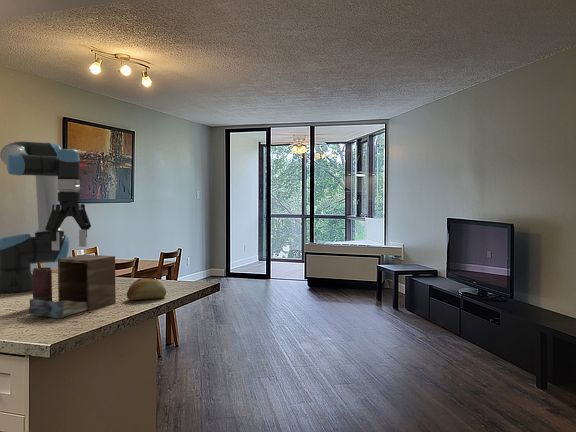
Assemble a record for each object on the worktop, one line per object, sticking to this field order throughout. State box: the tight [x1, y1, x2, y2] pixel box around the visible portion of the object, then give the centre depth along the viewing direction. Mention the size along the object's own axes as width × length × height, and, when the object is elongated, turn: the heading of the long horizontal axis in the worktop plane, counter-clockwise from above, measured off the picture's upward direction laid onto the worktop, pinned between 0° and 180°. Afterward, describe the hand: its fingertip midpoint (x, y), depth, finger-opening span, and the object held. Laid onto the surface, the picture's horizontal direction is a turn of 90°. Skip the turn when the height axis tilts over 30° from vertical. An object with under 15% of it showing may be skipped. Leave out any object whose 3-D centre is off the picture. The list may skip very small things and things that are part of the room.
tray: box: [28, 298, 88, 319], centre depth 159 cm, size 14×17×5 cm
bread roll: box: [126, 277, 167, 301], centre depth 184 cm, size 10×15×8 cm, turn 122°
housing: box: [57, 254, 117, 312], centre depth 172 cm, size 14×13×18 cm
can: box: [31, 267, 53, 301], centre depth 169 cm, size 6×6×14 cm
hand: (69, 248), depth 176 cm, fingers open, 13 cm apart
